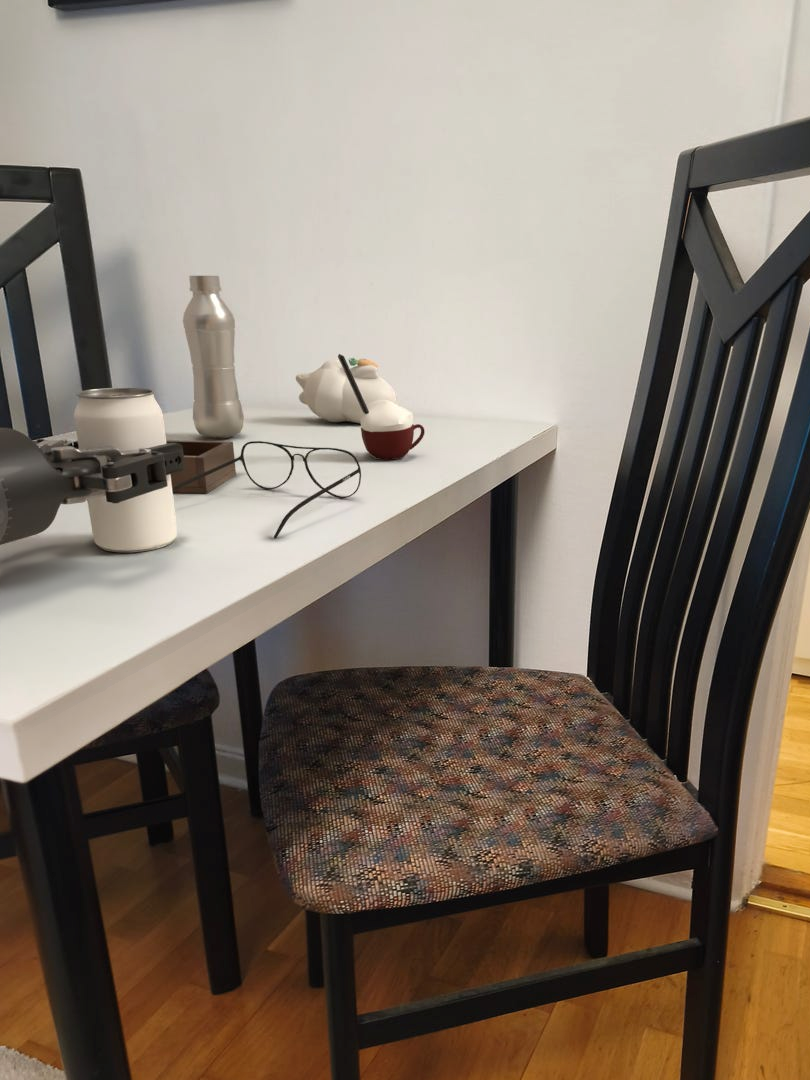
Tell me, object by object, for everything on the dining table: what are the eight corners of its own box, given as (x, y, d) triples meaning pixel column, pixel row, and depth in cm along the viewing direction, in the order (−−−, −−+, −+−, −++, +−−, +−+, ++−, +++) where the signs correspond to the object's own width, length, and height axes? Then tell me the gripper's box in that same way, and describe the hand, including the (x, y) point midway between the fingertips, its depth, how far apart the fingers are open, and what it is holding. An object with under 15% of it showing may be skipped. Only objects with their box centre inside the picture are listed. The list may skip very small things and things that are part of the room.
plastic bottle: (184, 440, 117) (165, 275, 109) (213, 431, 123) (197, 275, 115) (228, 443, 115) (211, 276, 107) (255, 434, 121) (241, 275, 113)
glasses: (366, 500, 87) (361, 450, 85) (279, 557, 75) (270, 501, 73) (246, 486, 92) (238, 438, 90) (147, 537, 80) (134, 484, 78)
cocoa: (425, 452, 110) (424, 351, 105) (421, 462, 104) (419, 355, 100) (349, 451, 110) (344, 350, 106) (340, 461, 104) (335, 355, 100)
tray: (118, 491, 90) (113, 455, 88) (155, 472, 98) (151, 439, 97) (207, 493, 89) (203, 457, 88) (236, 474, 98) (233, 441, 96)
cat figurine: (401, 356, 128) (300, 341, 129) (389, 391, 123) (284, 376, 124) (403, 408, 136) (308, 394, 137) (391, 444, 131) (292, 429, 132)
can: (160, 527, 77) (141, 385, 73) (191, 544, 73) (173, 393, 68) (83, 540, 73) (58, 390, 69) (111, 558, 69) (86, 399, 64)
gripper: (30, 446, 54) (212, 410, 68) (-125, 428, 60) (73, 399, 74) (52, 564, 57) (222, 506, 71) (-98, 537, 62) (87, 488, 77)
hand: (145, 452), depth 72 cm, fingers closed on can, 6 cm apart
